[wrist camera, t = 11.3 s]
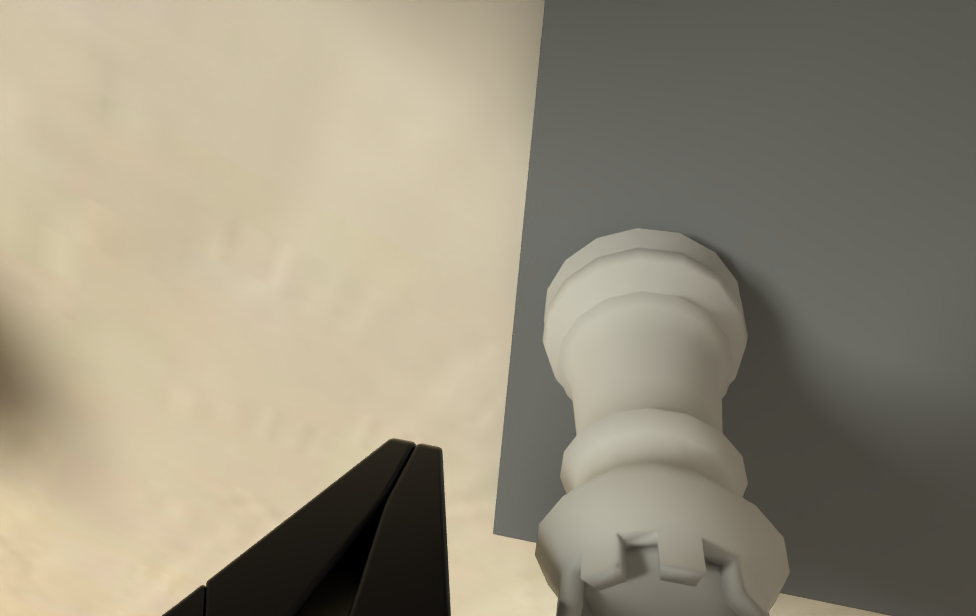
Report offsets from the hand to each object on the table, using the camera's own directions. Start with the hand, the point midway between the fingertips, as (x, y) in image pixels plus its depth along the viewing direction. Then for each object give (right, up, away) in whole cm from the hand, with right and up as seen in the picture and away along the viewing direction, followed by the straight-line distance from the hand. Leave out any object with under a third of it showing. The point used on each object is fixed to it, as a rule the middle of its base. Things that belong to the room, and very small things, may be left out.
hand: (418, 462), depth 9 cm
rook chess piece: (+5, +3, +5) cm, 7 cm away
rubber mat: (+9, +2, +4) cm, 10 cm away
